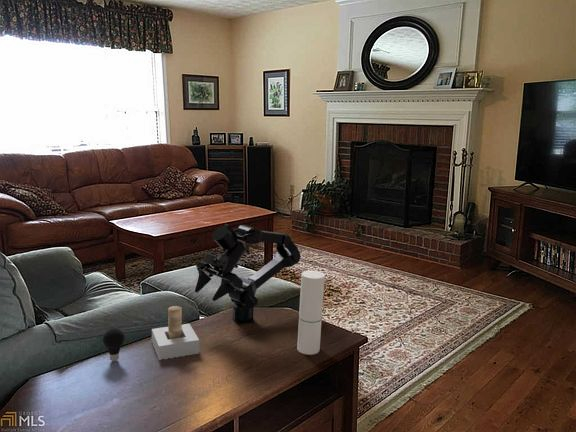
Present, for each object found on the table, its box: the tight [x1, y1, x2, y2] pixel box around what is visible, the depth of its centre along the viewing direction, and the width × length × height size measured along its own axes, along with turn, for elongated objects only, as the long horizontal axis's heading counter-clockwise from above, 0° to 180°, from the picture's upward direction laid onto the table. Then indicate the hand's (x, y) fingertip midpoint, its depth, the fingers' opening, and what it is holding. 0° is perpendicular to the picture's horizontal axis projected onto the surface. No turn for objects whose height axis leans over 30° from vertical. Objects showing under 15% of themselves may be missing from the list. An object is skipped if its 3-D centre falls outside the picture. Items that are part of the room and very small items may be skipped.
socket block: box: [151, 323, 200, 361], centre depth 147 cm, size 12×12×4 cm
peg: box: [167, 305, 183, 340], centre depth 147 cm, size 4×4×13 cm
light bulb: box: [102, 327, 125, 362], centre depth 137 cm, size 6×6×10 cm
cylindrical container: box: [296, 270, 326, 356], centre depth 149 cm, size 7×7×25 cm
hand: (204, 296), depth 154 cm, fingers open, 9 cm apart
